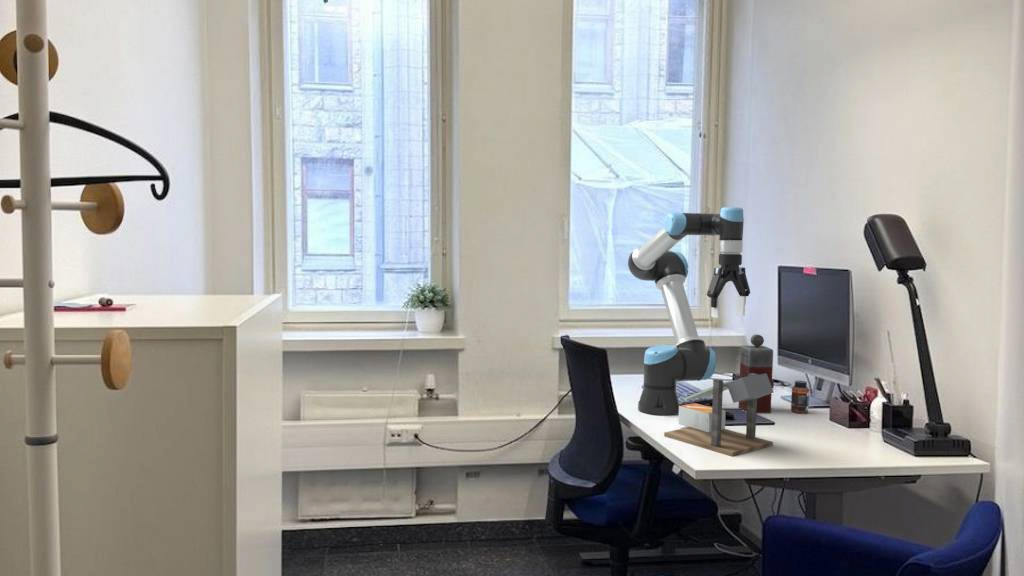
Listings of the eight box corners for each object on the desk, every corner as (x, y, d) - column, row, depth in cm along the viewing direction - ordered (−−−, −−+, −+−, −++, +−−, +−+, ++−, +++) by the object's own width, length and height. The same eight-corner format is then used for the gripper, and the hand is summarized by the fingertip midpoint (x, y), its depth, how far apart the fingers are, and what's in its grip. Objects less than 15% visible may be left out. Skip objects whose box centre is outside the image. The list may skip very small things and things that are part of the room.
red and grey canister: (759, 405, 288) (762, 332, 286) (771, 413, 277) (774, 336, 275) (736, 405, 287) (738, 332, 285) (746, 413, 276) (749, 336, 274)
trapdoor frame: (705, 427, 255) (707, 364, 253) (772, 445, 234) (775, 377, 233) (664, 436, 243) (666, 370, 241) (731, 456, 222) (734, 384, 221)
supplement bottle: (811, 413, 277) (813, 382, 276) (798, 414, 275) (799, 383, 275) (800, 409, 283) (802, 379, 282) (787, 410, 281) (788, 380, 280)
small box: (709, 413, 243) (678, 405, 253) (709, 433, 243) (677, 424, 254) (726, 410, 248) (694, 402, 258) (725, 429, 248) (694, 421, 258)
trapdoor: (718, 412, 247) (711, 392, 249) (775, 392, 229) (767, 370, 231) (690, 418, 238) (683, 397, 240) (746, 397, 221) (738, 375, 223)
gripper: (744, 252, 267) (741, 313, 269) (697, 253, 252) (695, 317, 254) (762, 253, 261) (760, 315, 263) (715, 254, 246) (713, 319, 248)
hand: (728, 316), depth 258 cm, fingers open, 13 cm apart
